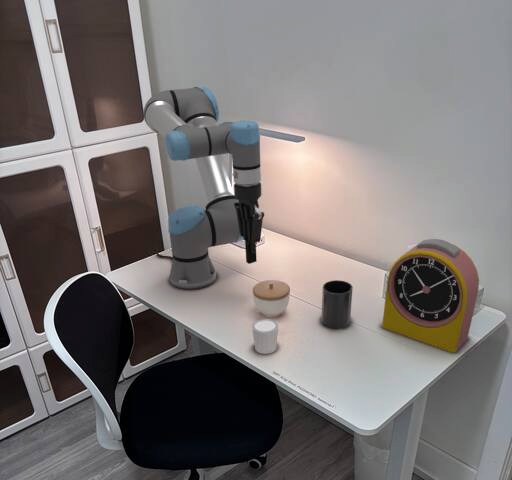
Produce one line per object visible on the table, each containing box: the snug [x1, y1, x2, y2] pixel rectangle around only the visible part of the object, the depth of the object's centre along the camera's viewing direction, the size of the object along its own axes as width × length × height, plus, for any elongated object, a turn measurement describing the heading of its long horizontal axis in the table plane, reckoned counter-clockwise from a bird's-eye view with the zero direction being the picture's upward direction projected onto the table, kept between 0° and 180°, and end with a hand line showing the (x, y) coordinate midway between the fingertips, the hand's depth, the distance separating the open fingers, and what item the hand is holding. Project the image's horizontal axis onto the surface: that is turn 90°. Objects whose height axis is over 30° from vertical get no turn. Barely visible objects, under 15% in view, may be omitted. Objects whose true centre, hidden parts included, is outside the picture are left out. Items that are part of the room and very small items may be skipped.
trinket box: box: [252, 279, 291, 318], centre depth 152 cm, size 11×11×9 cm
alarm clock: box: [381, 238, 480, 353], centre depth 135 cm, size 21×9×26 cm, turn 50°
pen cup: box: [321, 279, 354, 330], centre depth 146 cm, size 8×8×11 cm
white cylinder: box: [251, 318, 279, 355], centre depth 137 cm, size 7×7×7 cm
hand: (251, 261), depth 156 cm, fingers closed
